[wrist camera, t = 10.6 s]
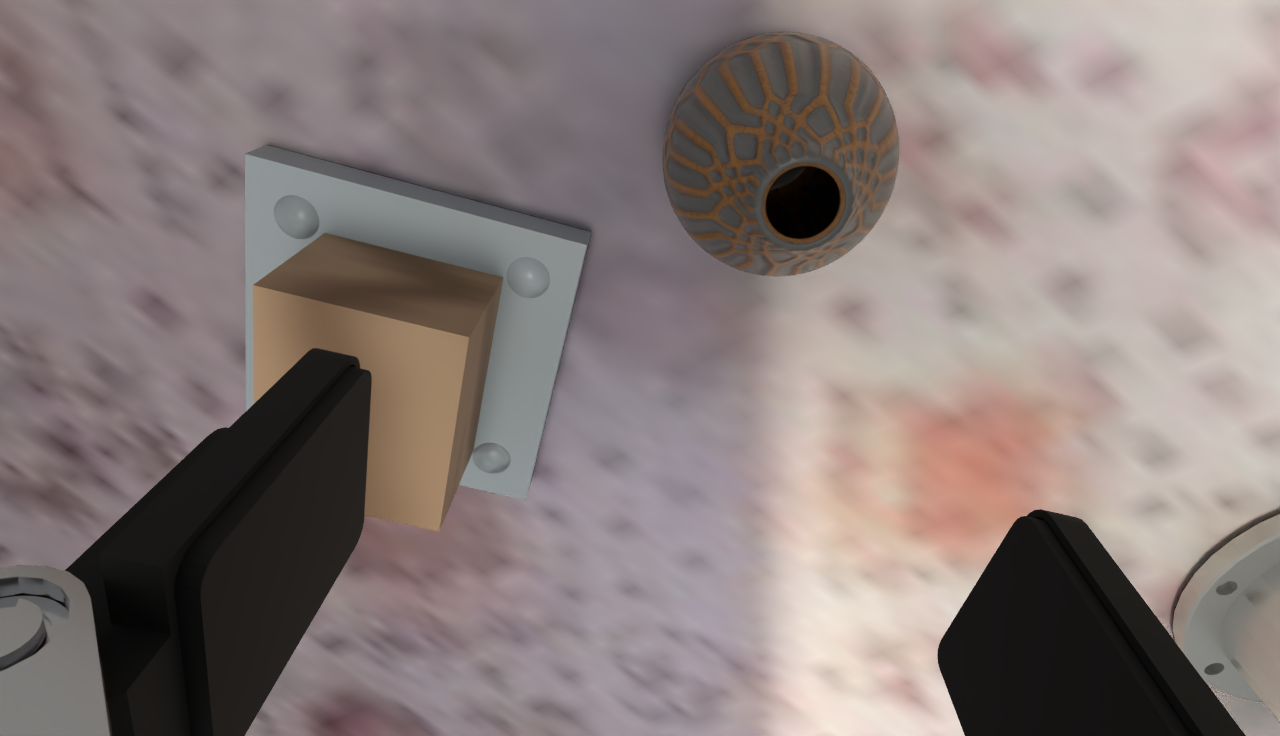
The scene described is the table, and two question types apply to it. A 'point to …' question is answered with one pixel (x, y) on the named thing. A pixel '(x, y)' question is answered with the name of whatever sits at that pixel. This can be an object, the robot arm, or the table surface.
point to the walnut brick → (389, 358)
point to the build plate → (447, 232)
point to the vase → (780, 154)
